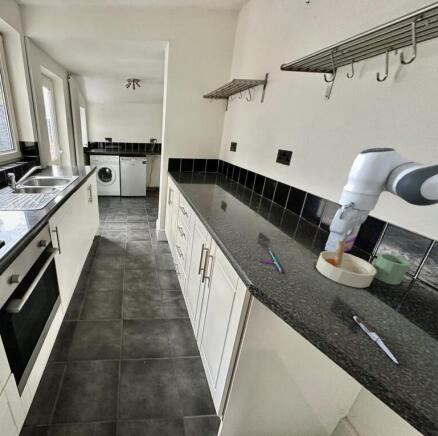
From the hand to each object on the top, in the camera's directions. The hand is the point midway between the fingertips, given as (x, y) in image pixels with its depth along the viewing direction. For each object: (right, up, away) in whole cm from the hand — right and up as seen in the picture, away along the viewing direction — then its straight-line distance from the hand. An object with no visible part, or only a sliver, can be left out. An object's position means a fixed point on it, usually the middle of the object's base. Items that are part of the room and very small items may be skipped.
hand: (341, 239), depth 79 cm
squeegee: (-20, -9, +9) cm, 24 cm away
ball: (+1, -9, +6) cm, 11 cm away
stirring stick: (+1, -10, +3) cm, 11 cm away
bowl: (+2, -13, +3) cm, 13 cm away
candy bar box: (+14, -7, +20) cm, 25 cm away
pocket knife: (-11, -23, -22) cm, 34 cm away
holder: (+16, -14, +2) cm, 22 cm away
